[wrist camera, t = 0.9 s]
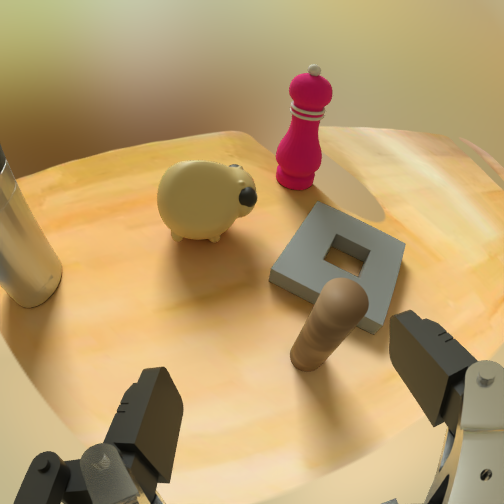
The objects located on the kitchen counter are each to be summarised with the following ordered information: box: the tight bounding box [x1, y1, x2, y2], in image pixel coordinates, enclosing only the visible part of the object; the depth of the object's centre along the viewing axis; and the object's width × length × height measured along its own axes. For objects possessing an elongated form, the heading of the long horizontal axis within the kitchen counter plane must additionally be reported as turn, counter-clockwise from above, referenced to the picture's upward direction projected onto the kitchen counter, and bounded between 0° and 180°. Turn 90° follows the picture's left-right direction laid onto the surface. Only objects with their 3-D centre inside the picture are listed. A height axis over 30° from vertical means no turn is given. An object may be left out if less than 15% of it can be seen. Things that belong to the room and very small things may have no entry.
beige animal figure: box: [157, 160, 257, 243], centre depth 35 cm, size 10×12×11 cm
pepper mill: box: [276, 64, 332, 190], centre depth 39 cm, size 7×7×20 cm
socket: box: [269, 201, 405, 335], centre depth 35 cm, size 14×14×2 cm
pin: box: [290, 278, 369, 372], centre depth 24 cm, size 4×4×12 cm
